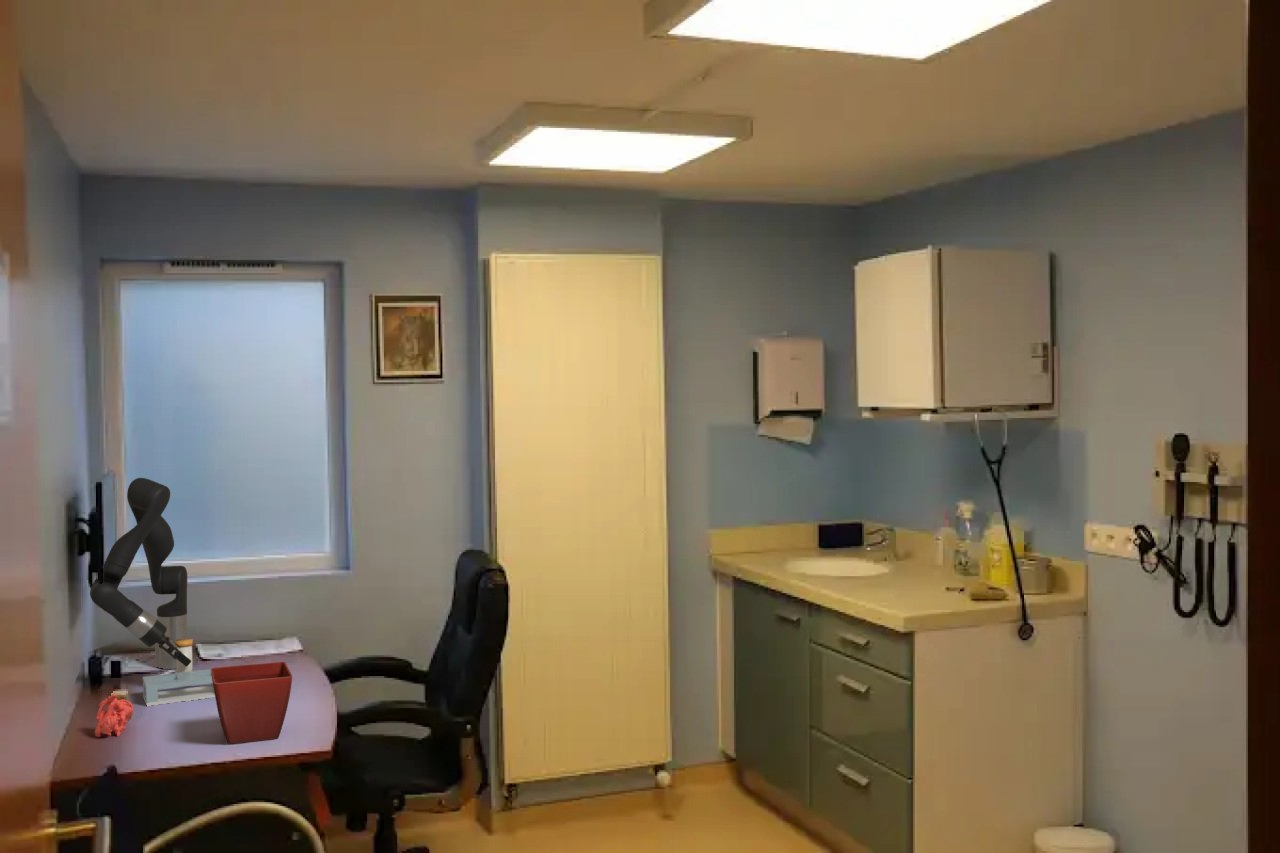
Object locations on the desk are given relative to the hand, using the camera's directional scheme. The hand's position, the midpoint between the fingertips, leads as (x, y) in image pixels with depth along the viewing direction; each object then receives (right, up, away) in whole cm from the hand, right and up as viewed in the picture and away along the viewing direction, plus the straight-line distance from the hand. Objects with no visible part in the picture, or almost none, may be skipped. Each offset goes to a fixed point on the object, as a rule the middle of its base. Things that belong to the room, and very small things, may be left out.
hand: (187, 661), depth 356 cm
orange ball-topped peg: (-1, -7, 0) cm, 8 cm away
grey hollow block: (+5, -8, -14) cm, 16 cm away
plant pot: (+38, -9, -53) cm, 66 cm away
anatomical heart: (+1, -9, -50) cm, 51 cm away
